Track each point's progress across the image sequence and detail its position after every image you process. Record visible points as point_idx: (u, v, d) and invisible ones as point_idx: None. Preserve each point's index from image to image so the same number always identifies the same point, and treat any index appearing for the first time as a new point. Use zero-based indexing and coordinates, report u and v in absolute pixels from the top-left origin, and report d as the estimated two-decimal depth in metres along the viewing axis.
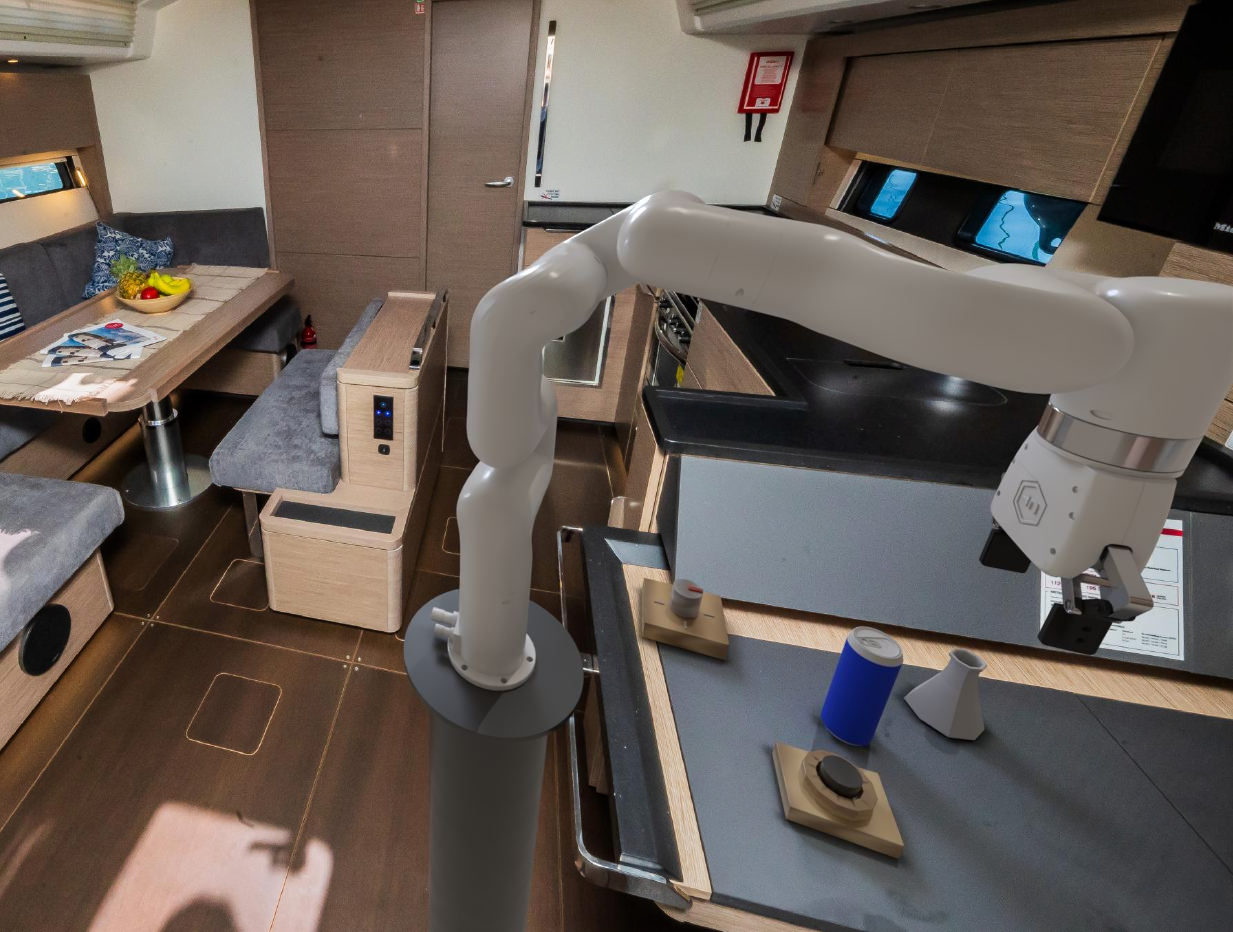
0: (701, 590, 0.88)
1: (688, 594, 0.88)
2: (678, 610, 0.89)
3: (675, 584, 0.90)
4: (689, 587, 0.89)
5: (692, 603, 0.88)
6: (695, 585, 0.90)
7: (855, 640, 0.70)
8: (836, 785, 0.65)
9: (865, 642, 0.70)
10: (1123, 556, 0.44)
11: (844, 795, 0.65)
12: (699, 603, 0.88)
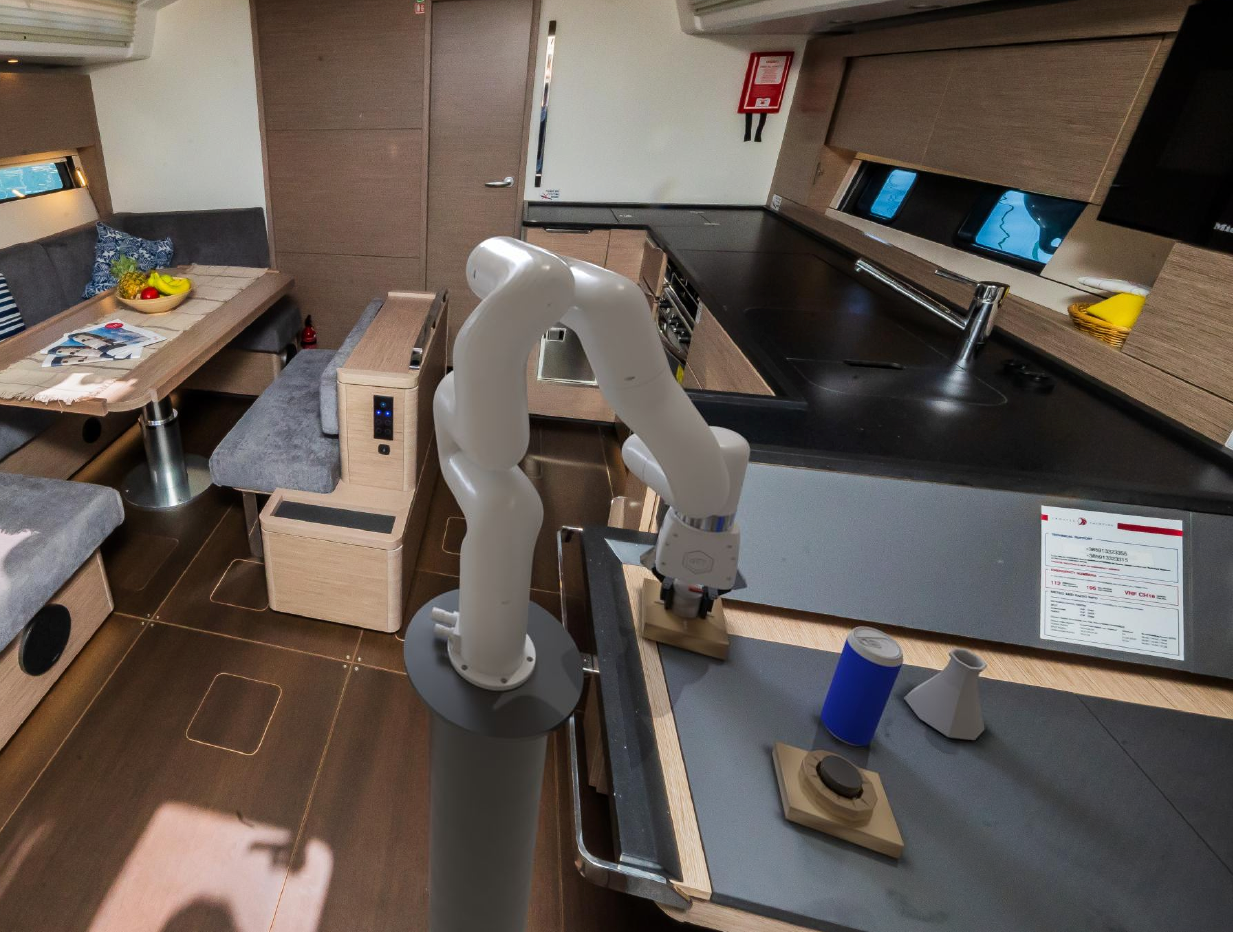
0: (701, 590, 0.88)
1: (688, 594, 0.88)
2: (678, 610, 0.89)
3: (675, 584, 0.90)
4: (689, 587, 0.89)
5: (692, 603, 0.88)
6: (695, 585, 0.90)
7: (855, 640, 0.70)
8: (836, 785, 0.65)
9: (865, 642, 0.70)
10: None
11: (844, 795, 0.65)
12: (699, 603, 0.88)
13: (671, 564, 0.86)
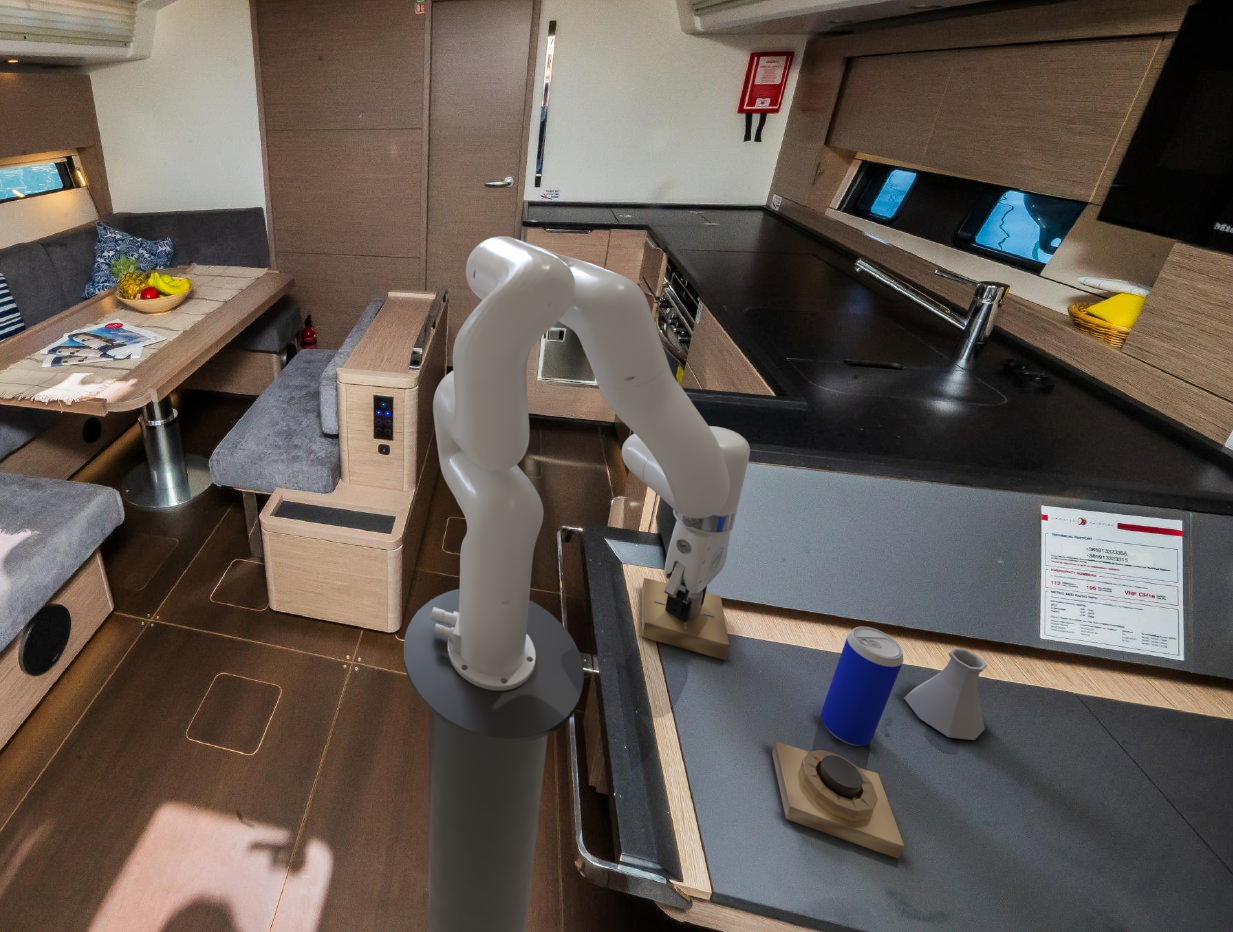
0: None
1: (696, 594, 0.88)
2: (692, 614, 0.88)
3: None
4: None
5: (701, 599, 0.88)
6: None
7: (855, 640, 0.70)
8: (836, 785, 0.65)
9: (865, 642, 0.70)
10: None
11: (844, 795, 0.65)
12: None
13: (703, 578, 0.83)
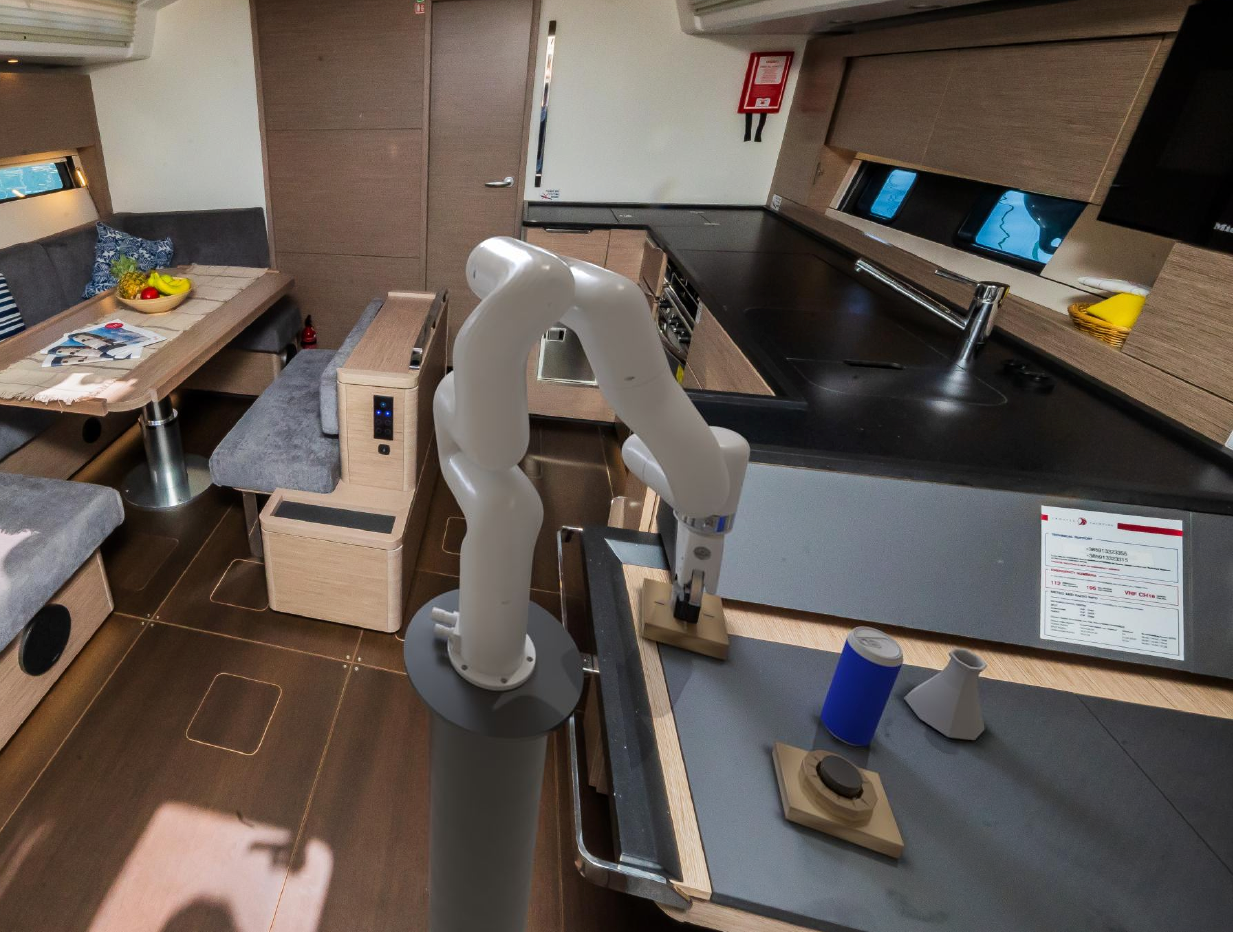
0: None
1: None
2: None
3: None
4: None
5: None
6: None
7: (855, 640, 0.70)
8: (836, 785, 0.65)
9: (865, 642, 0.70)
10: None
11: (844, 795, 0.65)
12: None
13: None
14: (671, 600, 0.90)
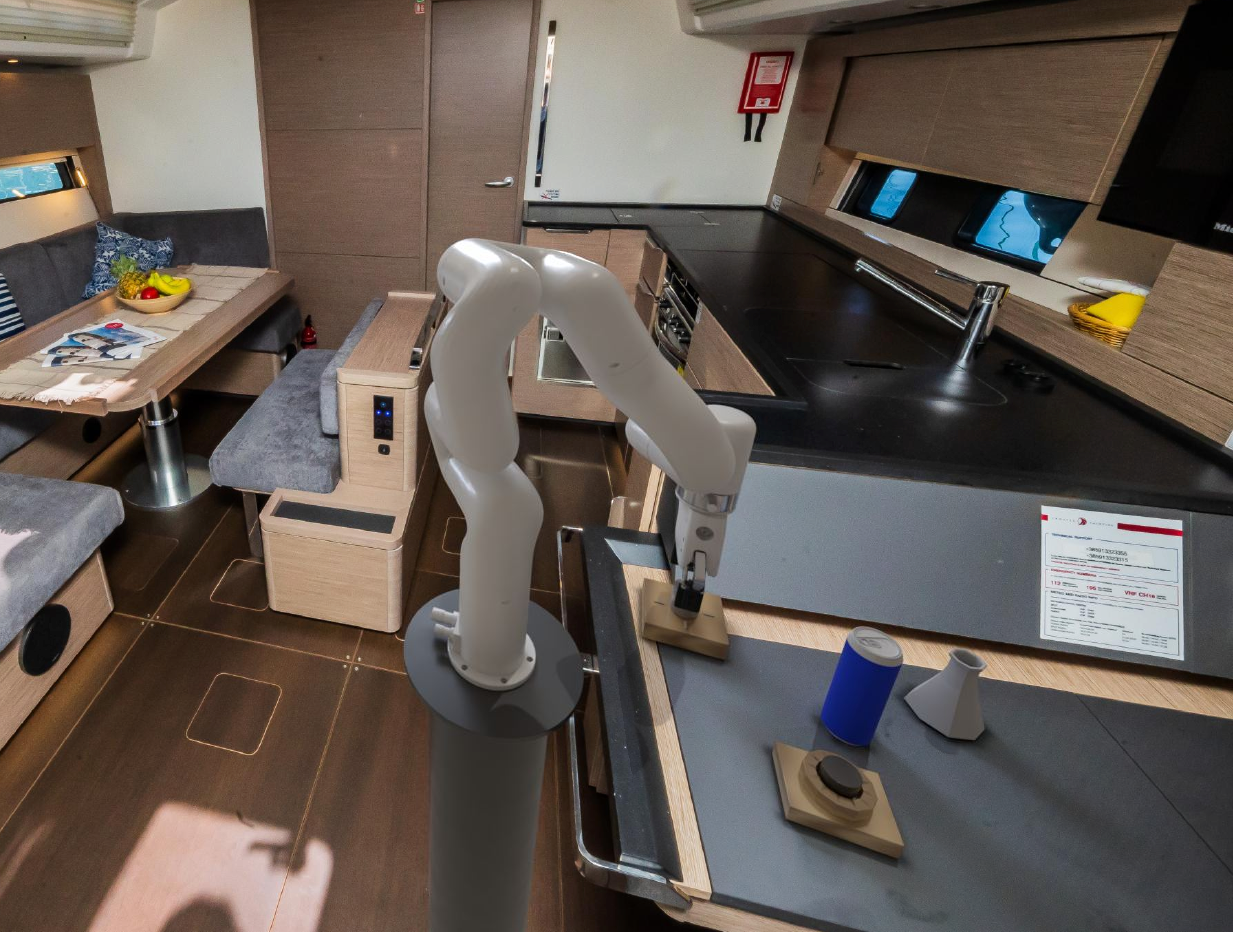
0: None
1: None
2: (696, 613, 0.89)
3: None
4: None
5: None
6: None
7: (855, 640, 0.70)
8: (836, 785, 0.65)
9: (865, 642, 0.70)
10: None
11: (844, 795, 0.65)
12: None
13: None
14: (671, 600, 0.90)
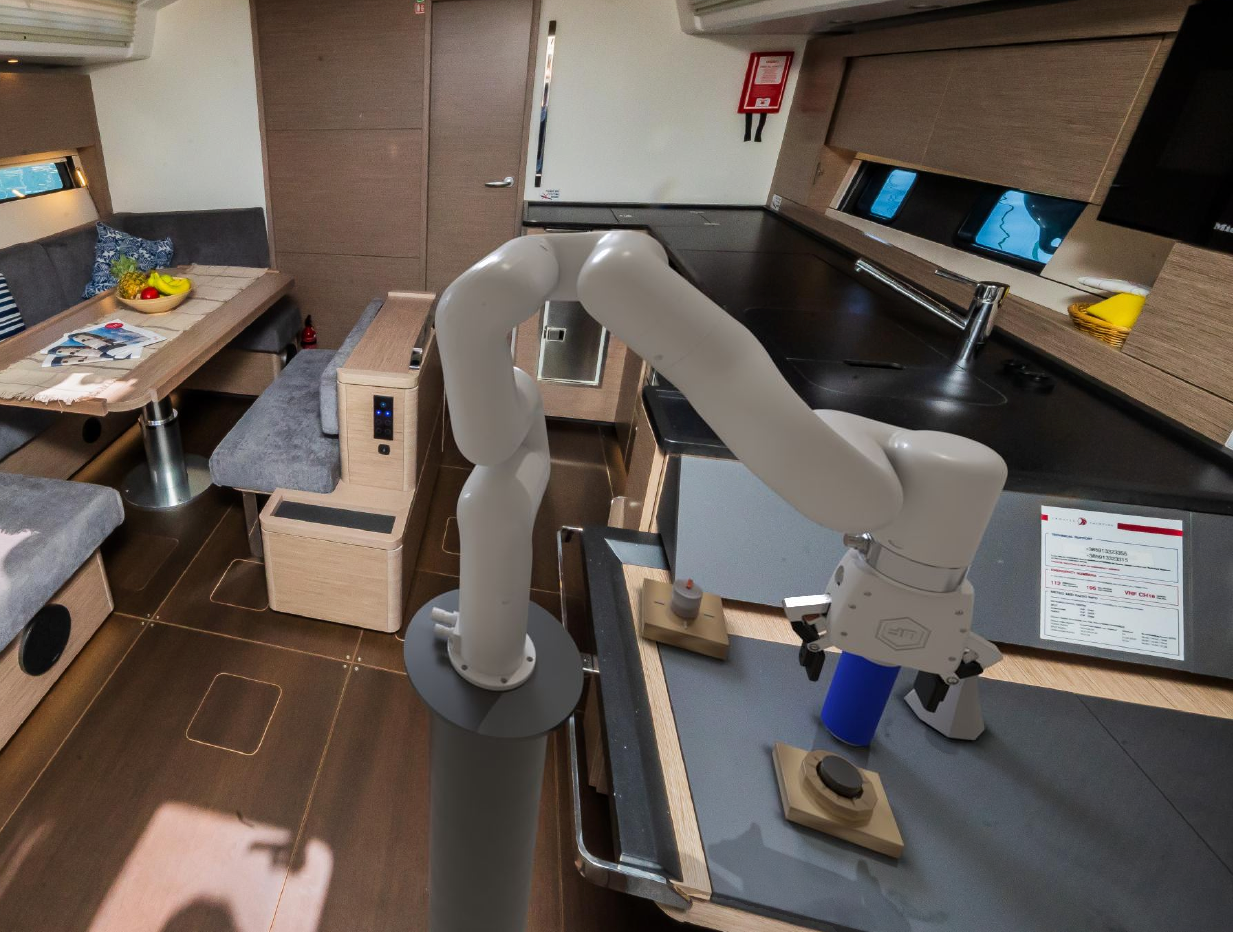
0: (691, 580, 0.90)
1: (697, 592, 0.88)
2: (696, 613, 0.89)
3: (683, 594, 0.88)
4: (688, 586, 0.89)
5: None
6: (681, 581, 0.91)
7: None
8: (836, 785, 0.65)
9: None
10: None
11: (844, 795, 0.65)
12: None
13: (857, 635, 0.58)
14: (671, 600, 0.90)
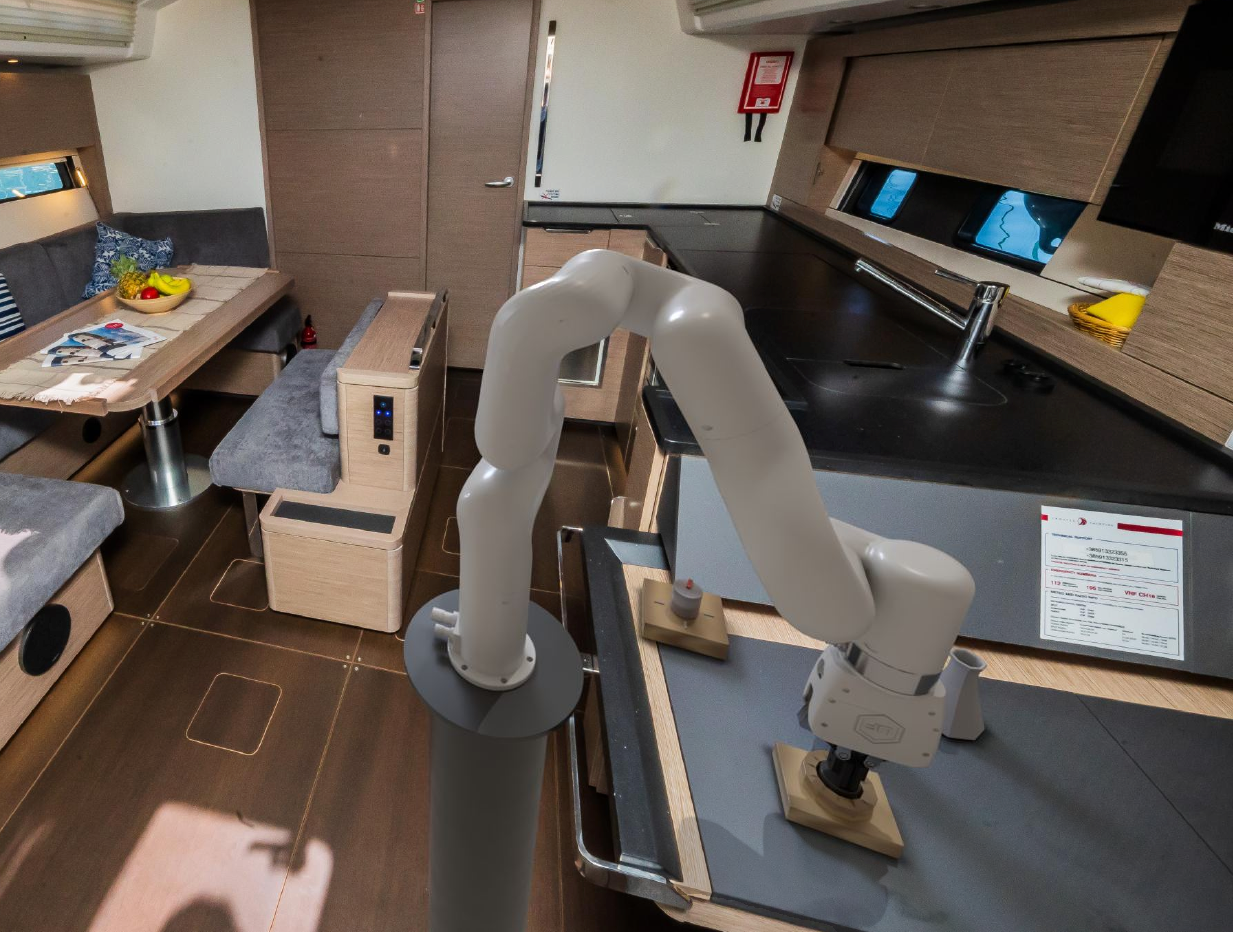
0: (691, 580, 0.90)
1: (697, 592, 0.88)
2: (696, 613, 0.89)
3: (683, 594, 0.88)
4: (688, 586, 0.89)
5: None
6: (681, 581, 0.91)
7: None
8: (834, 789, 0.65)
9: None
10: None
11: None
12: None
13: (836, 727, 0.61)
14: (671, 600, 0.90)
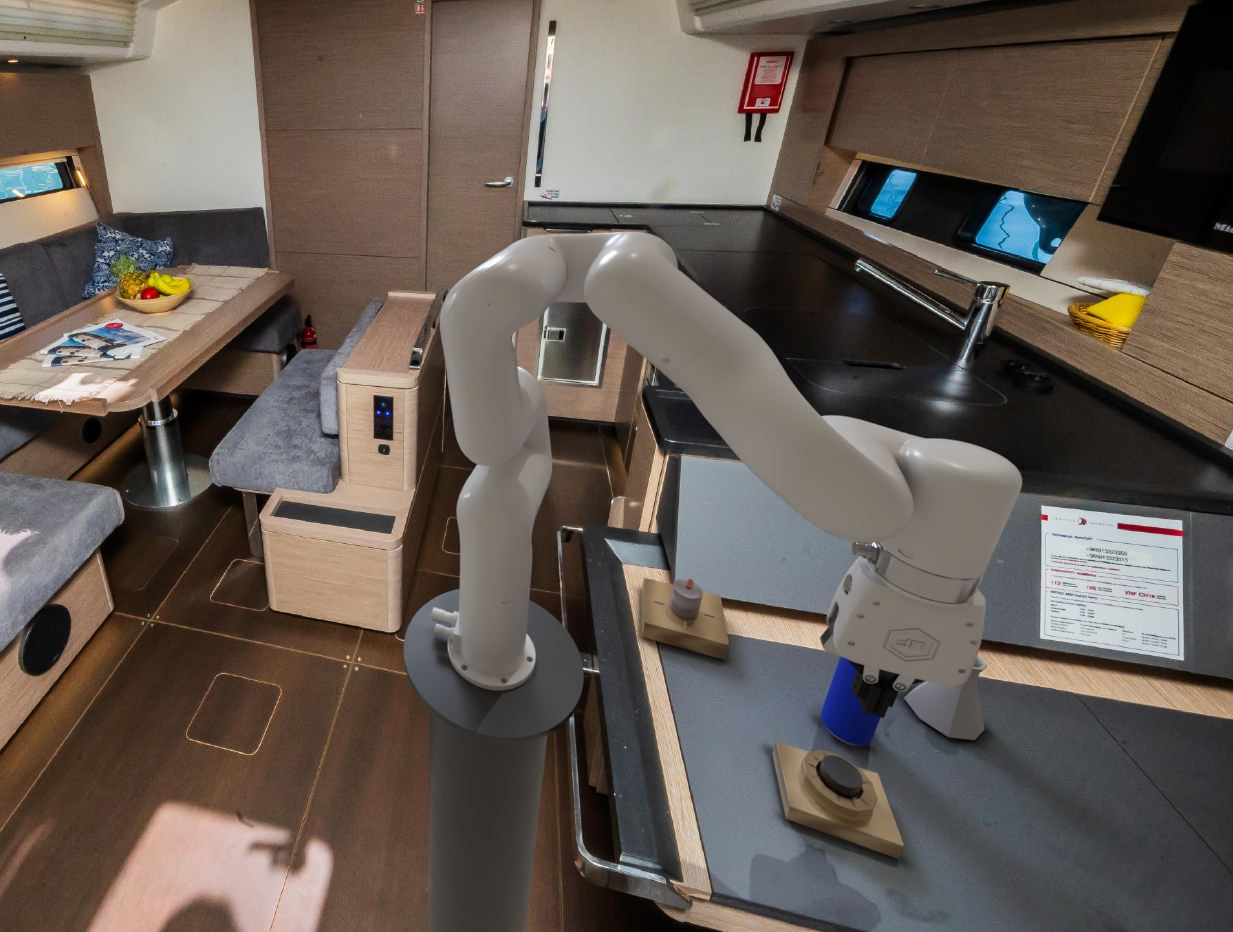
0: (691, 580, 0.90)
1: (697, 592, 0.88)
2: (696, 613, 0.89)
3: (683, 594, 0.88)
4: (688, 586, 0.89)
5: None
6: (681, 581, 0.91)
7: None
8: (836, 785, 0.65)
9: None
10: None
11: (844, 795, 0.65)
12: None
13: (864, 645, 0.57)
14: (671, 600, 0.90)
